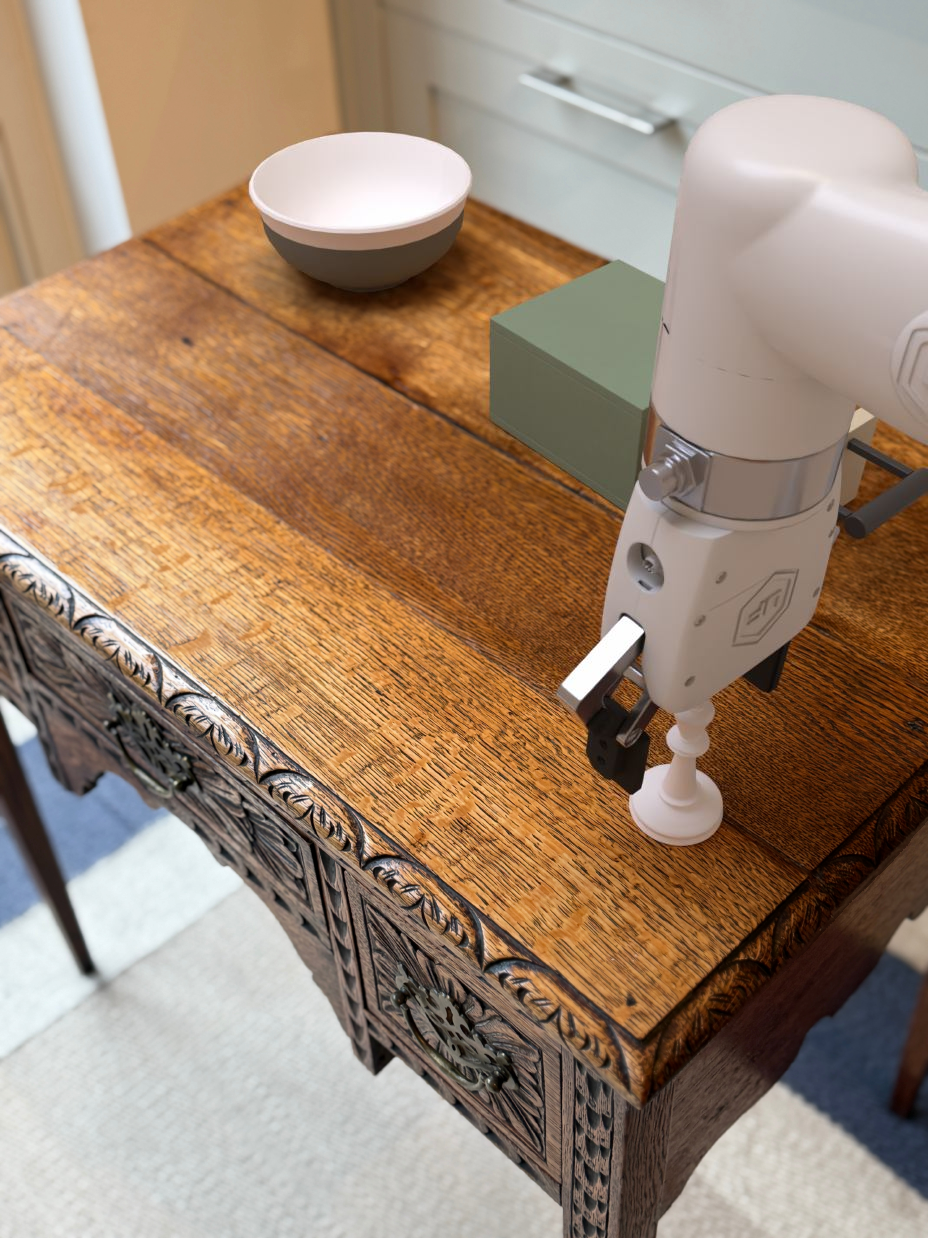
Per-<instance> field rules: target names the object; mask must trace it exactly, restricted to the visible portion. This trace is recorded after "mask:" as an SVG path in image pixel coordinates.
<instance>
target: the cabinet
mask: <svg viewBox="0 0 928 1238" xmlns="http://www.w3.org/2000/svg"><path fill="white" fill-rule="evenodd" d="M665 284H666V282H664V281H662V280H660V279H658V278H656V277H654V276H652V275H650V274H649V273H646V272H644V271H642V270H640V269H639V268H637V267H634V266H633V265H631V264H629V263H627V262H625V261H623V260H621V259H616V260H614V261H611V262H609V263H607V264H605V265H603V266H600V267H598V268H596V269H594V270H592V271H589V272H587V273H585V274H583V275H580V276H578V277H576V278H574V279H571V280H570V281H568V282H565V283H563V284H561V285H559V286H556V287H553V288H552V289H550V290H547V291H545V292H544V293H541V294H539V295H537V296H535V297H533V298H531V299H528V300H526V301H524V302H522V303H520V304H519V303H518V304H517V305H515V306H513V307H510V308H509V309H506V310H504V311H502V312H500V313H497V314H495V315H493V316H491V317H490V318H489V421H490V422H491V423H493V424H495V425H496V426H497V427H499V428H500V429H502V431H503V430H504V431H505V432H506V433H508V434H509V435H511V437H514V438H515V439H517V440H518V441H520V442H521V443H522V444H524V445H526V446H527V447H528V448H530V450H531V449H532V450H533V451H534V452H536V453H537V454H539V455H540V456H542V457H543V458H545V459H546V460H547V461H549V462H551V463H552V464H554V465H555V466H556V467H558V468H559V469H561V470H563V471H564V472H566V473H567V474H568V475H570V476H572V477H573V478H575V479H576V480H577V481H578V482H580V483H582V484H583V485H585V486H586V487H588V488H589V489H591V490H592V491H593V492H595V493H596V494H598V495H599V496H601V497H603V499H605V500H607V501H608V502H610V503H611V504H613V505H614V506H615V507H617V508H619V509H620V510H622V511H623V512H625V513H626V511H627V508H628V505H629V502H630V499H631V496H632V493H633V490H634V487H635V484H636V482H637V481H638V477H639V473H640V471H641V470H642V465H641V462H642V454H643V446H644V438H645V431H646V424H647V416H648V409H649V402H650V394H651V386H652V379H653V372H654V364H655V357H656V350H657V342H658V335H659V328H660V320H661V313H662V306H663V298H664V291H665Z"/></svg>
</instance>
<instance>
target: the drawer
mask: <svg viewBox="0 0 928 1238" xmlns="http://www.w3.org/2000/svg"><path fill="white" fill-rule="evenodd" d="M878 421H879V419H878V418H877V417H875V416H873V415H872V414H870V413H869V412H867V411H866V410H864V409H862V408H861V407H859V408H858V409H855V412H854V416H853V419H852V421H851V426H850V430H849V433H848V437H847V440H846V444H845V447H844V451H843V454H842V458H841V474H842V477H841V492H840V501H839V509H838V516H837V521H840V522H841V523H843V527H844V529H845V532H846V534H847V535H848V536H850V538H852V539H856V540H861V539H863V538H865V537H867V536H868V535H869V534H870V533H872V532H873V531H875V530H877V529H879V527H881V526H882V525H884V524H885V523H887V522H888V521H889V520H891V519H893V518H894V517H896V515H898V514H900V513H901V512H903V511H904V510H905V509H907V508H908V507H909V506H911V505H912V504H914V503H916V502H917V501H918V500H919V499H921V498H922V497H924V496H925V495H926V494H928V468H927V467H919V468H917V469H916V470H915V469H912V468H911V467H909V466H907V465H905V464H903V463H902V462H900V461H899V460H896V459H894V458H892V457H891V456H889V455H887V454H885V453H883V452H882V451H879V450H878V449H876V448H874V447H872V443H873V438H874V435H875V432H876V428H877V424H878ZM867 461H868V462H869V463H872V464H873V465H875V466H878V467H879V468H881V469H882V470H885V471H886V472H888V473H890V474H892V475H893V476H895V477H897V478H899V479H900V480H899V481H898V482H896V483H895V484H893V485H892V486H891V487H889V488H888V489H887V490H884V491H883V492H882V493H881V494H878V495H877V496H876V497H874V498H873V499H872V500H870V501H868V502H867V503H866V504H864V505H862V506H861V507H859V508H858V509H857V510H855V511H854V512H853V511H852V510H851V509H849V508H847V507H845V505H847V504H849V502H851V501H853V500H855V498H857V494H858V492H859V487H860V484H861V480H862V476H863V473H864V470H865V467H866V463H867Z"/></svg>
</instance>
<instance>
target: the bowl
mask: <svg viewBox="0 0 928 1238" xmlns="http://www.w3.org/2000/svg"><path fill="white" fill-rule="evenodd" d="M473 180H474V176H473V174H472V170H471V168H470V166H469V165H468V163H467V162H466V160H465V159H464V158H463V157H462V156H461V155H460V154H458V153H457V152H456V151H454V150H453V149H451V148H449V147H447V146H446V145H443V144H441V143H439V142H437V141H433V140H431V139H427V138H423V137H420V136H415V135H409V134H404V133H395V132H387V131H386V132H385V131H362V132H361V131H359V132H357V131H356V132H345V133H344V132H343V133H337V134H330V135H323V136H320V137H319V136H318V137H315V138H311V139H307V140H304V141H300V142H298V143H297V142H296V143H295V144H292V145H289V146H287V147H285V148H283V149H280V150H279V151H277V152H274V153H273V154H272V155H270V156H269V157H268V158H265V160H263V161H262V162H261V163H260V164H259V165H258V166H257V167H256V169H255V170H254V171H253V173H252V175H251V177H250V180H249V182H248V195H249V197H250V199H251V201H252V203H253V205H254V206H255V207H256V209H257V210H258V212H259V214H260V218H261V222H262V226H263V230H264V233H265V235H266V237H267V239H268V242H269V243H270V244H271V246H273V248H274V249H275V251H276V252H277V253H278V255H279V256H280V257H281V258H282V259H283V260H284V261H285V262H286V263H287V264H289V265H290V266H292V267H294V268H295V269H297V270H298V271H300V272H301V273H303V274H305V275H306V276H309V277H310V278H312V279H315V280H317V281H320V282H324V283H326V284H329V285H330V286H332V287H334V288H337V289H340V290H344V291H348V292H354V293H355V292H356V293H370V292H379V291H385V290H389V289H391V288H395V287H397V286H399V285H402V284H403V283H405V282H407V281H409V279H410V278H412V277H415V276H417V275H420V274H421V273H423V272H424V271H426V270H427V269H429V268H430V267H432V266H433V265H434V264H435V263H437V262H438V261H439V260H441V258H443V257H444V256H445V255H446V254H447V253H448V252H449V251H450V249H451V247H452V245H453V243H454V242H455V240H456V238H457V236H458V234H459V233H460V231H461V229H462V227H463V222H464V214H465V205H466V202H467V198H468V196H469V194H470V191H471V189H472V188H473Z"/></svg>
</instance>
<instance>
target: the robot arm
mask: <svg viewBox="0 0 928 1238" xmlns="http://www.w3.org/2000/svg"><path fill="white" fill-rule="evenodd" d="M917 159H918V157H917V155H916V152H915V149H914V147H913V145H912V143H911V140H910V139H909V138H908V136H907V135H906V134H905V133H904V132H903V131H902V130H901V129H900V128H899V127H898V126H897V125H896V124H895V122H892V121H891V120H890V119H888V118H887V117H886V116H885V115H882V114H880V113H879V112H876V111H874V110H871V109H869V108H867V107H864V106H862V105H859V104H855V103H852V102H849V101H845V100H841V99H837V98H831V97H826V96H819V95H811V94H810V95H809V94H795V93H793V94H791V93H783V94H768V95H760V96H755V97H750V98H745V99H741V100H739V101H736V102H733V103H731V104H729V105H727V106H725V107H723V108H720V109H719V110H718V111H716V112H715V113H713V114H712V115H710V116H709V117H707V119H706V120H705V121H704V122H703V123H702V124H701V125H700V126H699V127H698V129H696V131H695V132H694V134H693V136H692V138H691V139H690V141H689V143H688V145H687V148H686V151H685V153H684V156H683V162H682V166H681V172H680V177H679V182H678V188H677V189H678V190H677V197H676V204H675V211H674V218H673V226H672V234H671V241H670V248H669V255H668V262H667V263H668V264H667V270H666V277H665V278H666V279H665V283H666V284H665V291H664V298H663V306H662V313H661V320H660V328H659V335H658V342H657V350H656V357H655V364H654V372H653V379H652V386H651V394H650V402H649V409H648V416H647V424H646V431H645V438H644V446H643V454H642V462H641V465H642V470H641V471H640V473H639V477H638V481H637V482H636V484H635V487H634V490H633V493H632V496H631V499H630V502H629V505H628V508H627V511H626V512H625V515H624V517H623V520H622V524H621V528H620V530H619V535H618V538H617V542H616V546H615V549H614V554H613V558H612V562H611V565H610V570H609V576H608V580H607V584H606V591H605V596H604V604H603V609H602V617H601V624H600V625H601V626H600V641H599V642H598V643H597V644H596V645H595V646H594V647H593V648H592V650H591V651H590V652H589V653H588V654H587V655H586V656H585V657H584V659H582V661H580V663H579V664H578V665H577V666H576V667H575V668H574V669H573V670H572V671H571V673H569V674H568V676H567V677H566V678H565V679H564V680H563V681H562V682H561V683H560V684H559V686H558V687H557V689H556V691H555V697H556V699H557V700H558V702H559V703H560V704H561V706H563V708H564V709H565V710H566V712H567V714H568V715H570V716H571V717H572V718H573V719H574V720H575V721H577V722H578V723H579V724H580V725H581V726H582V727H584V728H585V730H587V737H586V747H585V754H586V757H587V758H588V761H589V763H590V765H591V767H592V768H593V770H594V771H595V772H596V773H598V774H599V775H600V776H601V777H602V778H604V779H605V780H607V781H613V782H614V783H615V784H616V785H617V786H618V787H620V788H621V789H622V790H623V791H624V792H625V793H626V794H628V795H629V796H630V795H633V794H635V793H636V792H637V791H639V790H640V789H641V788H642V784H643V779H644V774H645V771H646V767H647V763H648V757H649V751H650V745H651V736H650V734H649V733H648V732H647V731H646V729H647V727H648V726H649V725H650V723H651V721H652V720H653V718H654V717H655V715H656V714H657V712H658V711H659V709H660V708H661V709H662V710H663V711H664V712H666V713H668V714H674V713H681V712H685V711H688V710H691V709H693V708H695V707H697V706H699V705H700V704H702V703H703V702H705V701H706V700H708V699H709V700H710V699H711V698H712V697H714V696H715V695H717V694H718V693H719V692H721V691H723V690H724V689H725V688H727V687H728V686H730V685H731V684H732V683H734V682H735V681H736V680H738V679H739V678H741V677H742V678H743V679H744V680H745V681H747V682H748V683H750V684H751V685H752V686H754V687H755V688H757V689H758V690H759V691H760V692H762V693H766V694H769V693H771V692H773V691H774V690H775V689H777V688H778V687H779V684H780V680H781V677H782V673H783V670H784V666H785V663H786V660H787V657H788V652H789V649H790V646H791V642H792V639H793V638H795V636H797V635H798V634H799V633H800V632H801V631H802V630H803V629H804V628H805V627H806V626H807V625H808V624H809V622H810V621H811V620H812V618H813V616H814V614H815V612H816V609H817V605H818V602H819V600H820V595H821V592H822V589H823V584H824V579H825V576H826V573H827V569H828V565H829V559H830V556H831V552H832V551H831V550H832V547H833V545H834V544H835V542H836V540H837V538H838V536H839V535H840V532H841V527H840V526H839V525H837V521H838V519H837V516H838V509H839V501H840V492H841V477H842V474H841V458H842V454H843V451H844V447H845V444H846V440H847V437H848V433H849V430H850V426H851V421H852V419H853V416H854V412H855V411H856V410H857V409H856V408H857V406H858V407H859V408H862V409H864V410H866V411H867V412H869V413H870V414H872V415H873V416H875V417H877V418H878V420H880V421H881V422H883V423H885V424H886V425H888V426H890V427H891V428H893V429H894V430H896V431H899V432H900V433H902V434H903V435H905V436H907V437H909V438H910V439H912V440H914V441H916V442H918V443H920V444H922V445H924V446H927V447H928V190H924V189H923V188H921V186H920V185H919V165H918V160H917ZM640 656H641V660H640V663H639V662H637V659H638V658H639V657H640ZM625 678H626V679H627V680H628V681H630V682H631V683H632V684H634V685H635V686H636V687H637V688H638V689H640V690H641V691H642V693H641V695H640V696H639V698H638V700H637V701H636V702H635V703H634V705H633V707H632V709H631V710H630V711H629V710H627V708H625V707H624V706H623V705H621V704H620V703H619V702H618V701H616V700H615V699H614V698H612V697H613V696H614V695H615V693H616V691H617V690H618V688H619V687H620V685H621V683H622V682H623V681H624V679H625Z"/></svg>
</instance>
